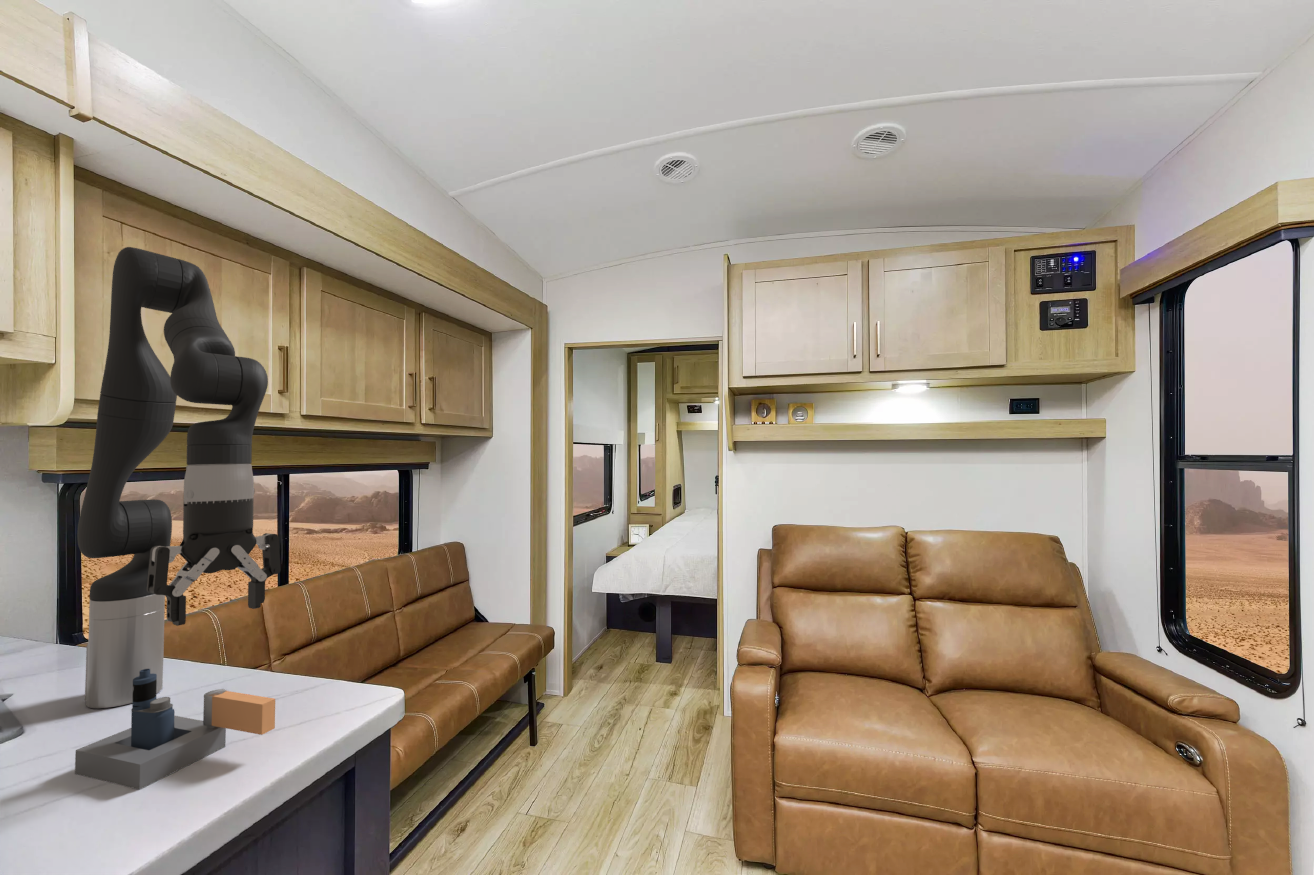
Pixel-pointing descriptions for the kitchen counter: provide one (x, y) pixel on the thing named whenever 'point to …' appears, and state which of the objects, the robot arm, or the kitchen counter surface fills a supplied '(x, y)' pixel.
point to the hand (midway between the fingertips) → (218, 615)
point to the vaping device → (150, 714)
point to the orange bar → (239, 711)
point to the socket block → (148, 754)
